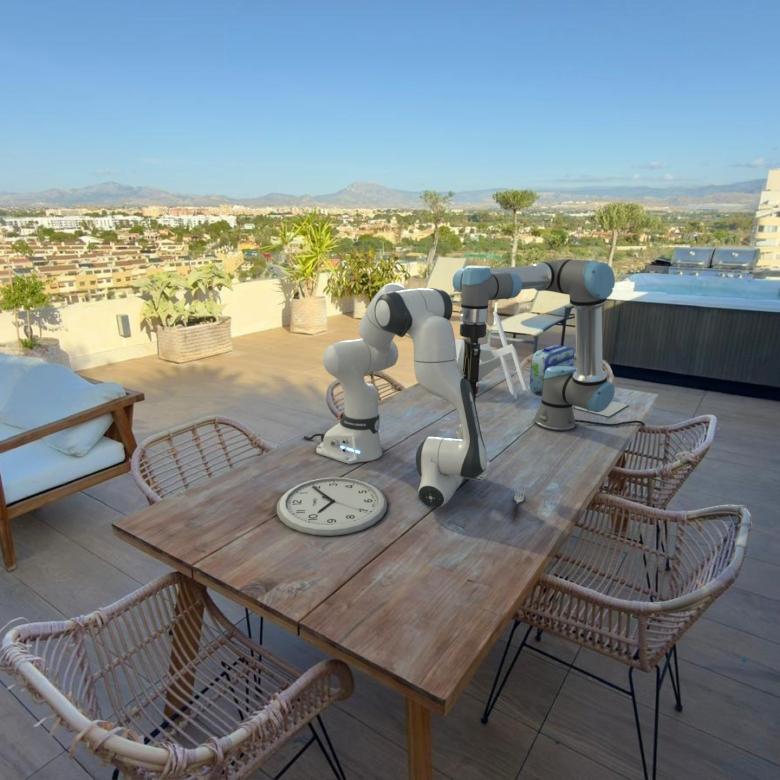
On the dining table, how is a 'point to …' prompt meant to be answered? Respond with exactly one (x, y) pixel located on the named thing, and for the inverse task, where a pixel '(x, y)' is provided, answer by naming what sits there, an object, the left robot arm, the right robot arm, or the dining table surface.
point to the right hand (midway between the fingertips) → (468, 399)
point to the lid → (476, 388)
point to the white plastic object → (494, 359)
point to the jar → (459, 433)
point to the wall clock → (331, 506)
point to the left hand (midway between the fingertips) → (462, 454)
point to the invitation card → (608, 408)
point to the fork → (517, 499)
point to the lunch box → (548, 363)
